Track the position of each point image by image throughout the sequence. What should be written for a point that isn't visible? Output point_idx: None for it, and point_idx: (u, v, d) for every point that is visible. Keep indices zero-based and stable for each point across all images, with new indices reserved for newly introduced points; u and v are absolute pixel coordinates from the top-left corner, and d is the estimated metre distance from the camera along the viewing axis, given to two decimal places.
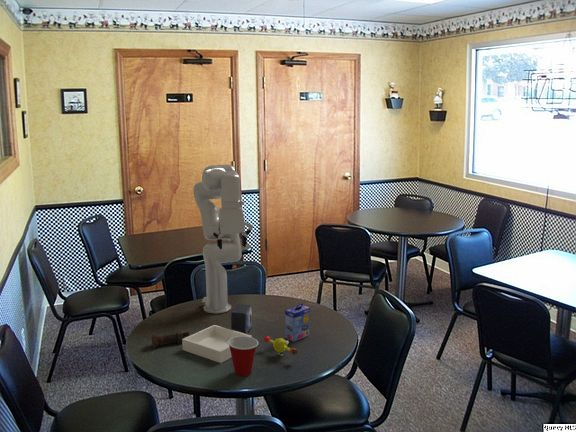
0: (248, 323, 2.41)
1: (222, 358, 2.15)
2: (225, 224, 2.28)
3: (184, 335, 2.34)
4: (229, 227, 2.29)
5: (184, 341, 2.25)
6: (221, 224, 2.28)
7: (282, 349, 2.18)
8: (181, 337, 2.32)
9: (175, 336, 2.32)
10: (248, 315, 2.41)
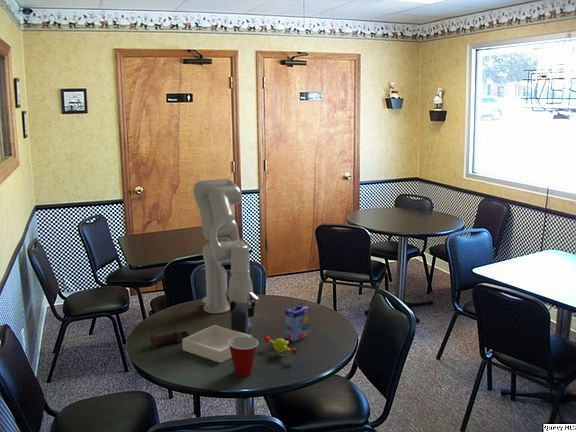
0: (248, 323, 2.41)
1: (222, 358, 2.15)
2: None
3: (183, 334, 2.35)
4: None
5: (184, 341, 2.25)
6: None
7: (282, 349, 2.18)
8: (180, 336, 2.33)
9: (174, 335, 2.33)
10: None
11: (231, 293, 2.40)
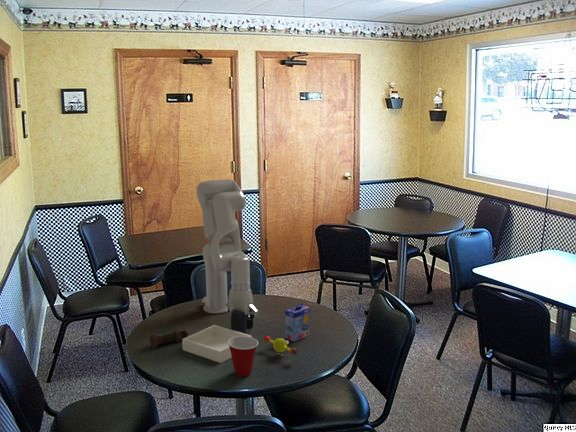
0: None
1: (222, 358, 2.15)
2: None
3: (182, 333, 2.35)
4: None
5: (184, 341, 2.25)
6: None
7: (282, 349, 2.18)
8: (179, 335, 2.34)
9: (173, 335, 2.33)
10: None
11: (231, 304, 2.41)
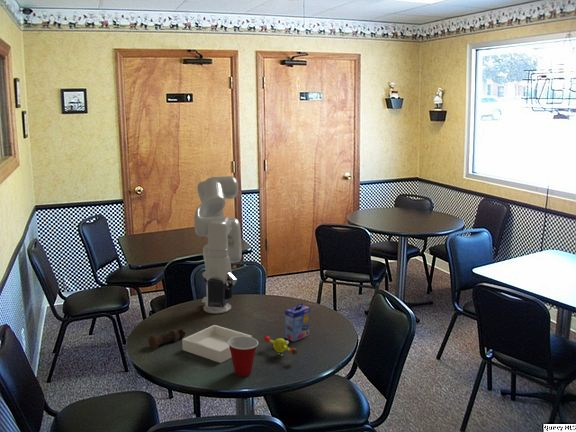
0: None
1: (222, 358, 2.15)
2: None
3: (179, 332, 2.36)
4: None
5: (184, 341, 2.25)
6: None
7: (282, 349, 2.18)
8: (178, 335, 2.35)
9: (172, 334, 2.34)
10: None
11: (208, 273, 2.24)
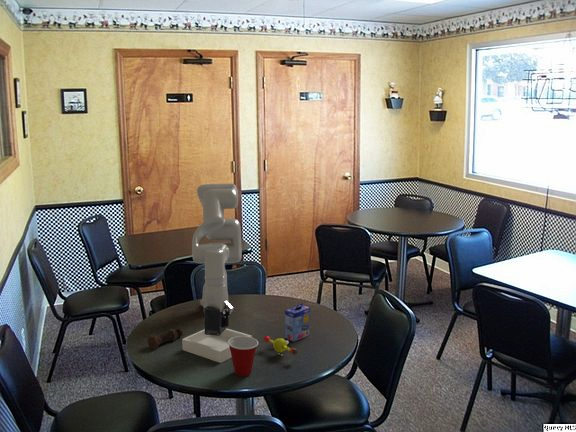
0: None
1: (222, 358, 2.15)
2: None
3: (177, 332, 2.37)
4: None
5: (184, 341, 2.25)
6: None
7: (282, 349, 2.18)
8: (176, 334, 2.35)
9: (170, 334, 2.34)
10: None
11: (205, 301, 2.24)
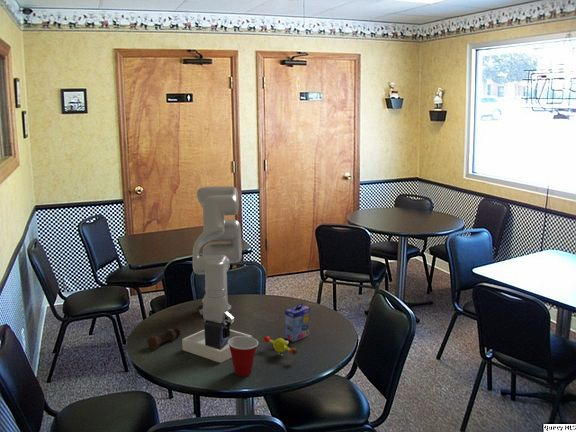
0: None
1: (222, 358, 2.15)
2: None
3: (175, 331, 2.37)
4: None
5: (184, 341, 2.25)
6: None
7: (282, 349, 2.18)
8: (175, 334, 2.36)
9: (169, 334, 2.34)
10: (223, 327, 2.25)
11: (205, 312, 2.25)
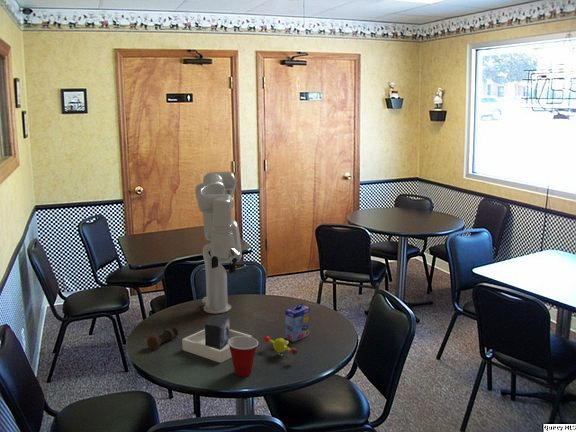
0: (224, 337, 2.25)
1: (222, 358, 2.15)
2: None
3: (173, 331, 2.38)
4: None
5: (184, 341, 2.25)
6: None
7: (282, 349, 2.18)
8: (173, 333, 2.36)
9: (168, 334, 2.34)
10: (224, 328, 2.25)
11: (212, 248, 2.34)
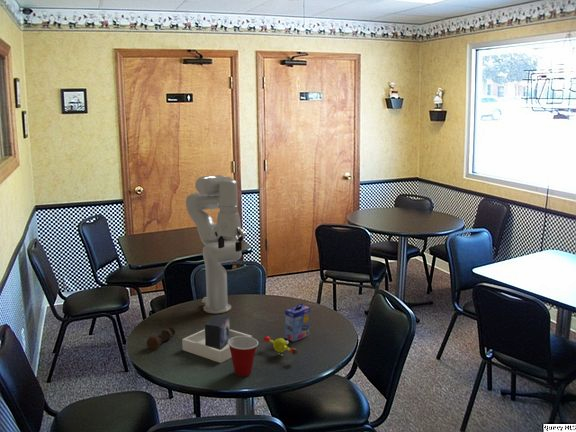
0: (224, 337, 2.25)
1: (222, 358, 2.15)
2: None
3: (171, 331, 2.38)
4: None
5: (184, 341, 2.25)
6: None
7: (282, 349, 2.18)
8: (171, 333, 2.36)
9: (166, 334, 2.35)
10: (224, 328, 2.25)
11: (219, 228, 2.44)
